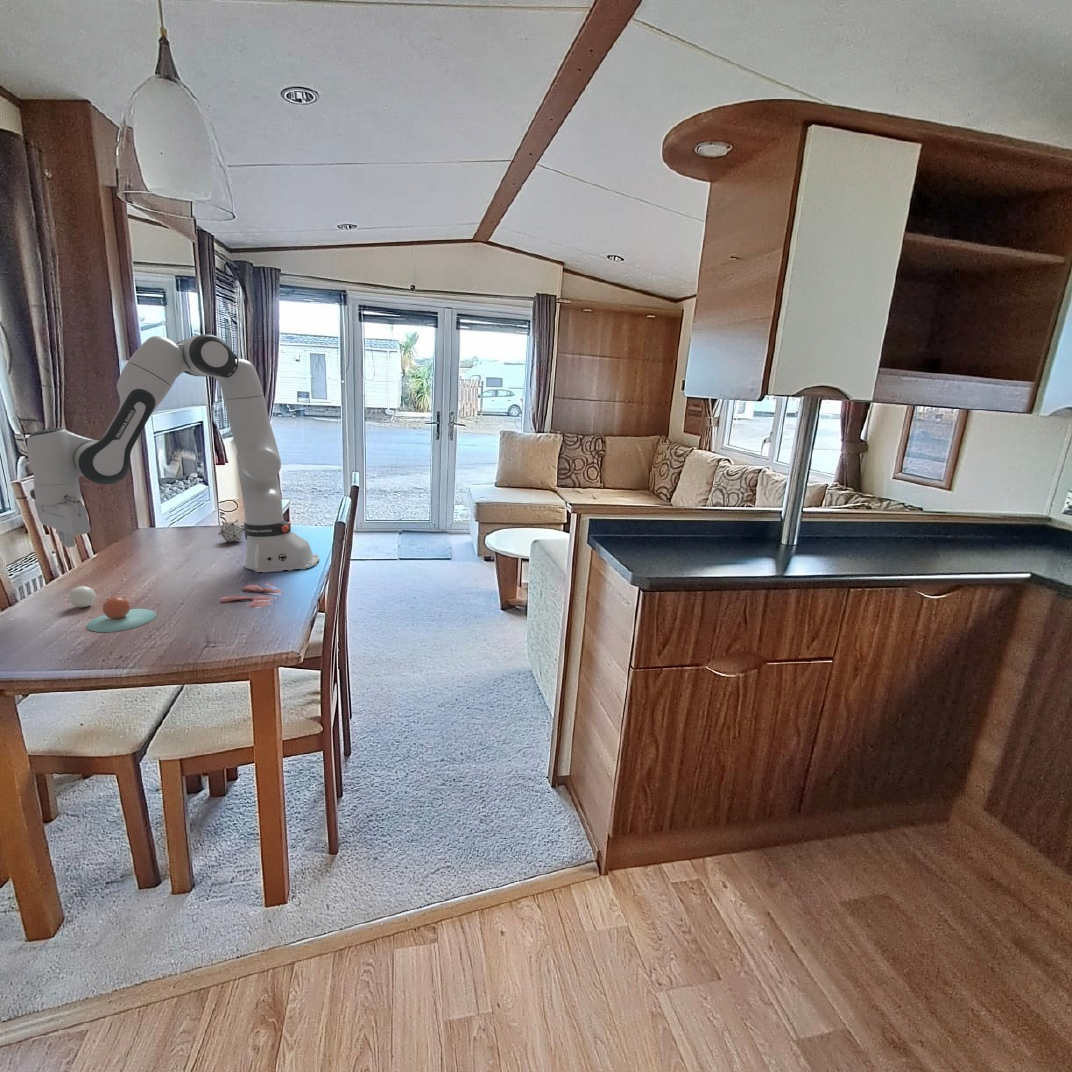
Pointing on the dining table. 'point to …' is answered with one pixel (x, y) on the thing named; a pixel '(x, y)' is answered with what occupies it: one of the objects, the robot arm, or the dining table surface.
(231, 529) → the game die
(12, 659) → the dining table surface
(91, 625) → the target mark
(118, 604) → the brown egg
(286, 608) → the dining table surface
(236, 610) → the dining table surface
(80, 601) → the white egg
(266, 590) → the pinkish brown flat pieces
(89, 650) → the dining table surface
